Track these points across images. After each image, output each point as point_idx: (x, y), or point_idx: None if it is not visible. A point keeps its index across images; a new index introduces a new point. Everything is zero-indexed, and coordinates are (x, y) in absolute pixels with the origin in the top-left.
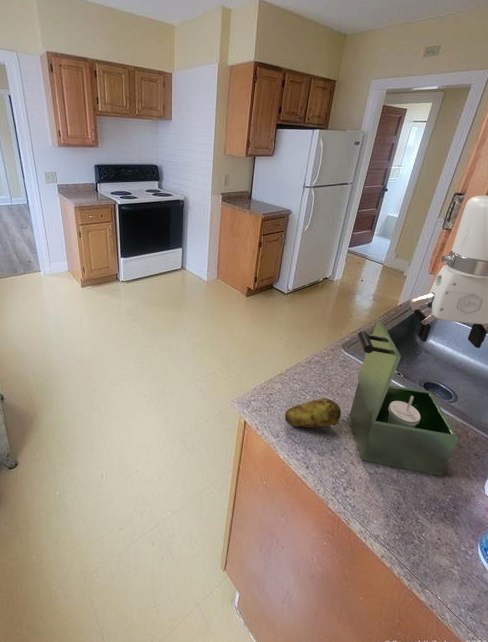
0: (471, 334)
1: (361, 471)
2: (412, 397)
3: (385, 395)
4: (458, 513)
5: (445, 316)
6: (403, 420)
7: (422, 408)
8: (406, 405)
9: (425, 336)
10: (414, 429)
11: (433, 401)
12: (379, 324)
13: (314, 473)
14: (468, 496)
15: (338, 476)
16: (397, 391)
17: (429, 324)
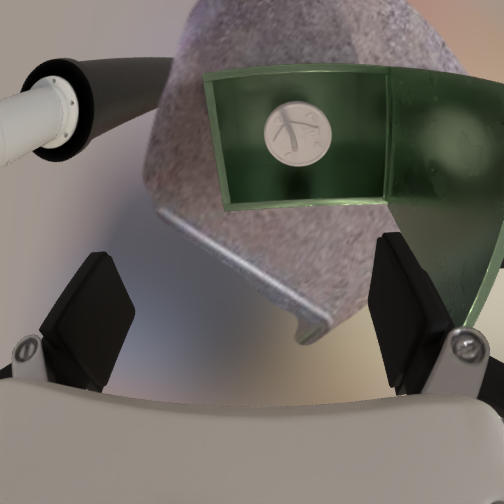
0: (117, 330)
1: (362, 45)
2: (295, 145)
3: (425, 69)
4: (217, 16)
5: (426, 452)
6: (309, 104)
7: (237, 184)
8: (289, 155)
9: (406, 254)
10: (299, 67)
11: (226, 177)
12: (472, 326)
13: (434, 34)
14: (191, 51)
15: (400, 31)
16: (299, 195)
17: (413, 343)
